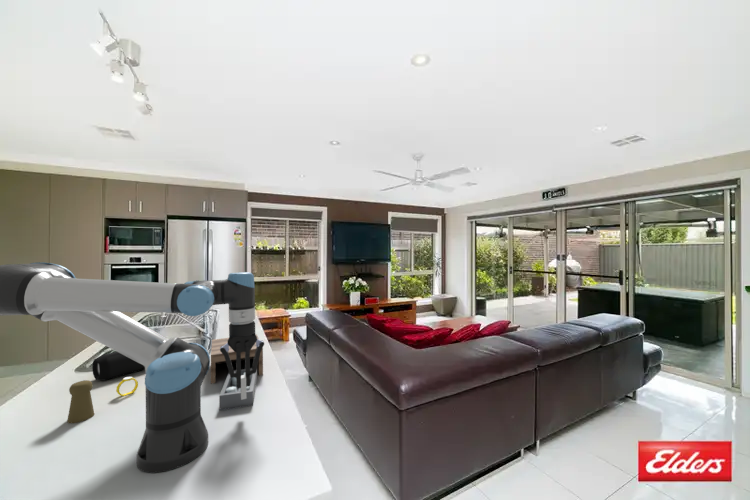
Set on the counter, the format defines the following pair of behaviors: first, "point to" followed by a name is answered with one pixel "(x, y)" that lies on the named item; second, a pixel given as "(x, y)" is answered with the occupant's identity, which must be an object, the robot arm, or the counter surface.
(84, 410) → the cork
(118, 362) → the portable speaker
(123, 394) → the watch
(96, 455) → the counter surface
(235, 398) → the tray
